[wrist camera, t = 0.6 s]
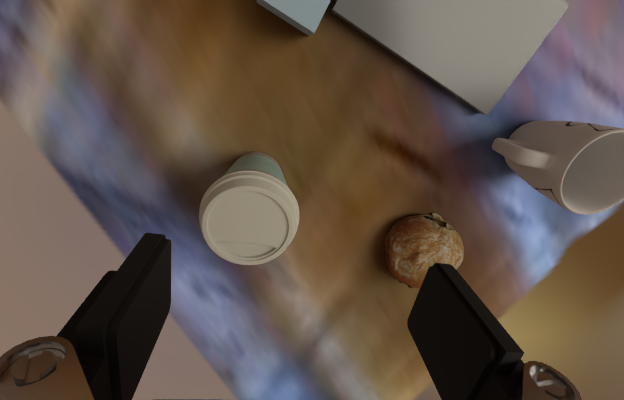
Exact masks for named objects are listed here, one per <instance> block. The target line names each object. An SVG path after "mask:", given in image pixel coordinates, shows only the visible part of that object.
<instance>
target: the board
mask: <svg viewBox="0 0 624 400" xmlns="http://www.w3.org/2000/svg"><path fill="white" fill-rule="evenodd" d="M568 7H569V4H568V3H567V2H566V1H565V0H336V1H335V3H334V5H333V7H332V9H331V11H330V12H332V13H333V14H335V15H336V16H338V17H339V18H341V19H342V20H344V21H345V22H347V23H348V24H349V25H351V26H352V27H354V28H355V29H357V30H358V31H360V32H361V33H363V34H364V35H366V36H367V37H369V38H370V39H372V40H373V41H374V42H376V43H377V44H379V45H380V46H382V47H383V48H385V49H386V50H388V51H389V52H391V53H392V54H394V55H395V56H396V57H398V58H399V59H401V60H402V61H404V62H405V63H407V64H408V65H410V66H411V67H413V68H414V69H416V70H417V71H418V72H420V73H421V74H423V75H424V76H426V77H427V78H429V79H430V80H432V81H433V82H435V83H436V84H438V85H439V86H440V87H442V88H443V89H445V90H446V91H448V92H449V93H451V94H452V95H454V96H455V97H457V98H458V99H460V100H461V101H462V102H464V103H465V104H467V105H468V106H470V107H471V108H473V109H474V110H476V111H477V112H479V113H481V114H484V115H488V114H489V113H490V111H491V110H492V109H493V107H494V106H495V105H496V103H497V102H498V101H499V99H500V98H501V97H502V95H503V94H504V93H505V91H506V90H507V89H508V87H509V86H510V85H511V83H512V82H513V81H514V79H515V78H516V77H517V75H518V74H519V73H520V71H521V70H522V68H523V67H524V66H525V64H526V63H527V62H528V60H529V59H530V58H531V56H532V55H533V54H534V52H535V51H536V50H537V48H538V47H539V46H540V44H541V43H542V42H543V40H544V39H545V38H546V36H547V35H548V34H549V32H550V31H551V30H552V28H553V27H554V26H555V24H556V23H557V22H558V20H559V19H560V18H561V16H562V15H563V14H564V12H565V11H566V10H567V8H568Z"/></svg>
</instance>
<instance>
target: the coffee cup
mask: <svg viewBox="0 0 624 400" xmlns="http://www.w3.org/2000/svg"><path fill="white" fill-rule="evenodd" d="M199 222H200V227H201V230H202V233H203V236H204V238H205V240H206V242H207V244H208V245H209V247H210V248H211V249H212V250H213V251H214V252H215V253H216V254H217V255H219V256H220V257H222V258H223V259H225V260H227V261H230V262H232V263H236V264H241V265H257V264H262V263H265V262H268V261H270V260H272V259H274V258H276V257H277V256H279V255H280V254H281V253H282V252H283V251H284V250H285V249H286V248H287V247H288V245H289V244H290V242H291V241H292V240H293V238H294V236H295V234H296V231H297V228H298V224H299V208H298V204H297V201H296V199H295V197H294V195H293V193H292V192H291V191H290V189H289V188H288V186H287V184H286V181H285V179H284V176H283V173H282V171H281V169H280V166H279V164H278V163H277V162H276V161H275V160H274V159H273V158H272V157H271V156H269V155H267V154H265V153H261V152H250V153H247V154H244V155H242V156H241V157H239V158H238V159H237V160H236V161H235V163H234V164H233V165H232V166H231V167H230V168H229V170H228V171H227V172H226V173H225V174H224V175H223V177H221V178H220V179H218V180H217V181H215V182H214V183H213V184H212V185H211V186H210V187H209V188H208V189H207V191H206V192H205V194H204V196H203V198H202V200H201V204H200V209H199Z"/></svg>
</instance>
